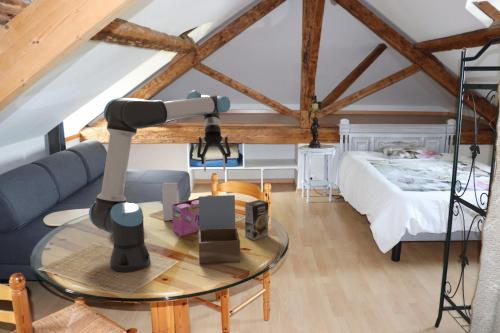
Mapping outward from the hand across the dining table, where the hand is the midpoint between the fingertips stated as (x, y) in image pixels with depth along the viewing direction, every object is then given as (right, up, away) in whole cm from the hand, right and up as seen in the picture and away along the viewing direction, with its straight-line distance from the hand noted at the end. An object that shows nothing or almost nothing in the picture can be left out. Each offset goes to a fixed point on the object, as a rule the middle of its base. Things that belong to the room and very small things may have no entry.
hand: (214, 169), depth 185 cm
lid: (+2, -18, -11) cm, 21 cm away
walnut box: (+3, -35, -15) cm, 39 cm away
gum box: (-10, -29, +16) cm, 34 cm away
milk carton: (-25, -26, +29) cm, 46 cm away
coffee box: (+19, -31, +6) cm, 37 cm away
